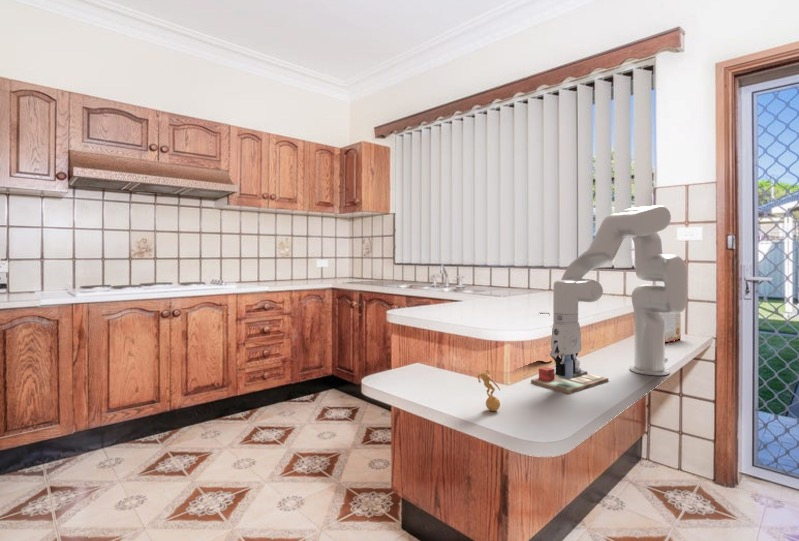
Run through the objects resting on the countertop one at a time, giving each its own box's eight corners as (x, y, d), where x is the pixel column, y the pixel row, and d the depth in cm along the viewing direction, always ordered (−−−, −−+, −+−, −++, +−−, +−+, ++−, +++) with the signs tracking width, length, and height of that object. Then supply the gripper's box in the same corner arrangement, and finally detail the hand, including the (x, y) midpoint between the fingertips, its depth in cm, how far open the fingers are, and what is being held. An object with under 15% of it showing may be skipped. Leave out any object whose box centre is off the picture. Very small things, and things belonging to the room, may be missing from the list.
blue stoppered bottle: (576, 376, 140) (576, 351, 139) (567, 379, 137) (567, 353, 137) (563, 373, 144) (563, 349, 143) (555, 375, 141) (555, 351, 141)
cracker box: (668, 338, 213) (668, 296, 213) (681, 340, 208) (681, 297, 207) (651, 341, 207) (652, 298, 206) (664, 343, 201) (665, 299, 200)
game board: (570, 371, 158) (570, 359, 158) (608, 381, 146) (608, 367, 146) (530, 382, 146) (530, 369, 146) (568, 394, 134) (568, 379, 134)
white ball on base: (568, 366, 157) (568, 351, 157) (585, 370, 151) (585, 355, 151) (557, 369, 153) (557, 354, 153) (573, 373, 148) (573, 357, 148)
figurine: (508, 413, 119) (508, 370, 118) (492, 418, 116) (492, 374, 115) (488, 404, 126) (487, 364, 125) (472, 409, 123) (471, 367, 122)
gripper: (559, 322, 132) (559, 381, 133) (591, 317, 141) (591, 372, 142) (539, 319, 138) (539, 375, 139) (571, 314, 147) (571, 367, 148)
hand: (565, 373), depth 140 cm, fingers closed on blue stoppered bottle, 4 cm apart
